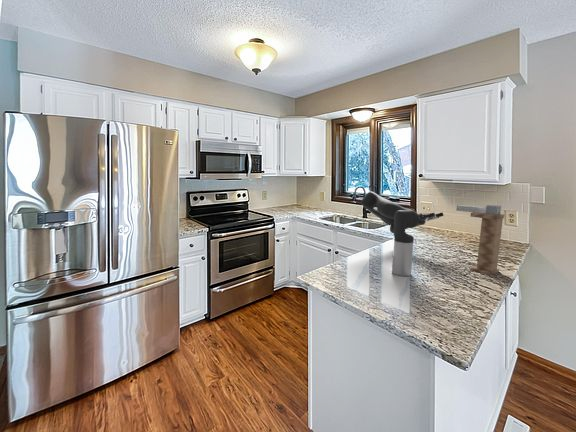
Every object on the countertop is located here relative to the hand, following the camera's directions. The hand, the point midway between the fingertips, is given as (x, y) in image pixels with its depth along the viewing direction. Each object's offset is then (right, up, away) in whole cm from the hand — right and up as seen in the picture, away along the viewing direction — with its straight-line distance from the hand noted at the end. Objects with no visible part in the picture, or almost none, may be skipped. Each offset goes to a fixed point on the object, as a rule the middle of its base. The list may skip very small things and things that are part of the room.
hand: (438, 214), depth 177 cm
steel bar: (+12, +1, -18) cm, 21 cm away
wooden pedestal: (+14, -30, -17) cm, 38 cm away
